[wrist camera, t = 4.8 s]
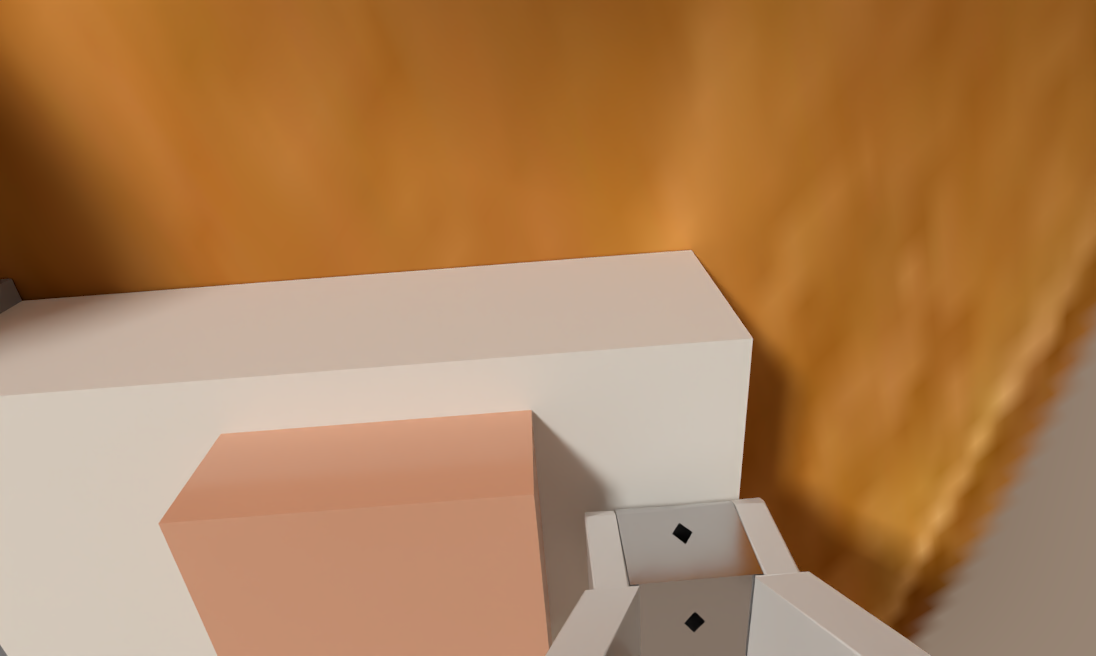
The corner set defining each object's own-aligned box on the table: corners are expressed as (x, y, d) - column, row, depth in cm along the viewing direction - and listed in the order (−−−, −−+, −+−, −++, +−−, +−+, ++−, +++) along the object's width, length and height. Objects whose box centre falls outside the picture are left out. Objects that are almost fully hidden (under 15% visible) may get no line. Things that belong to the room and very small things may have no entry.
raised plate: (21, 300, 13) (-158, 408, 10) (691, 249, 14) (753, 338, 10) (219, 716, 20) (153, 874, 16) (675, 681, 20) (710, 829, 16)
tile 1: (220, 433, 10) (158, 523, 9) (531, 410, 10) (533, 493, 9) (296, 643, 13) (258, 748, 11) (551, 622, 13) (556, 725, 11)
